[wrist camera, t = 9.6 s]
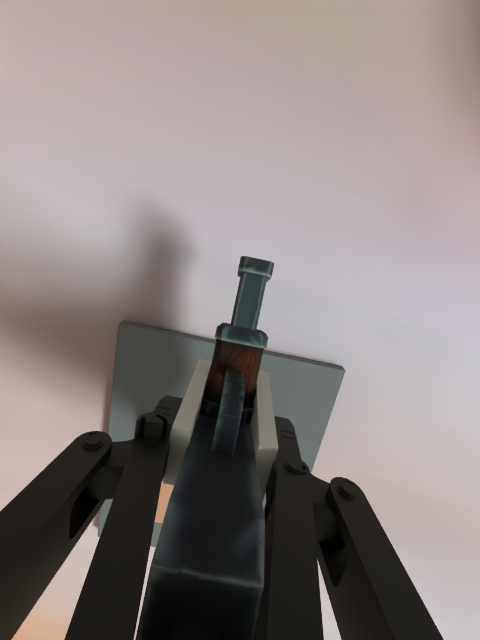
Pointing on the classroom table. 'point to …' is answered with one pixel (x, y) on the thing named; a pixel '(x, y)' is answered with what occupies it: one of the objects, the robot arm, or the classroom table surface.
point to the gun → (216, 496)
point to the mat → (176, 373)
